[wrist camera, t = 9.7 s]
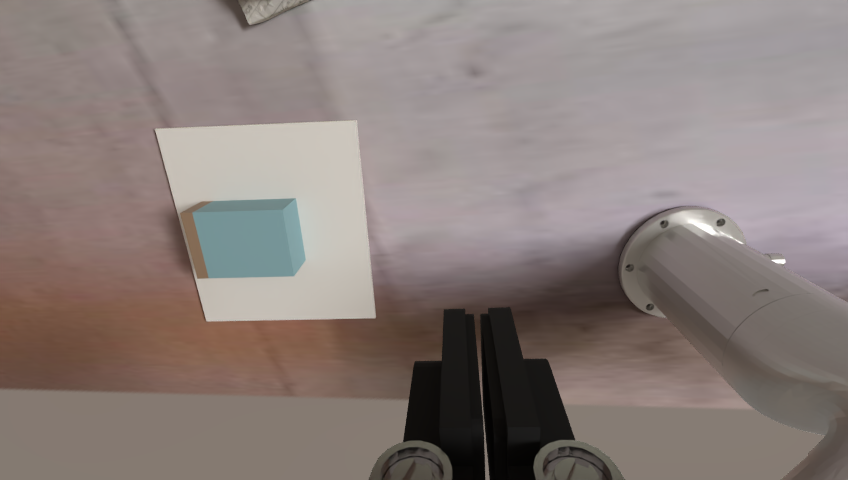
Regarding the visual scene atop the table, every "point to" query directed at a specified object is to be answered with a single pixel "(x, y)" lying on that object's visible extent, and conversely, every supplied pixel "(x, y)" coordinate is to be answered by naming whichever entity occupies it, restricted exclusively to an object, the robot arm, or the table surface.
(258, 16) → the packaged product
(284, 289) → the board
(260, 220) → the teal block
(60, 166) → the table surface
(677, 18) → the table surface
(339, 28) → the table surface
